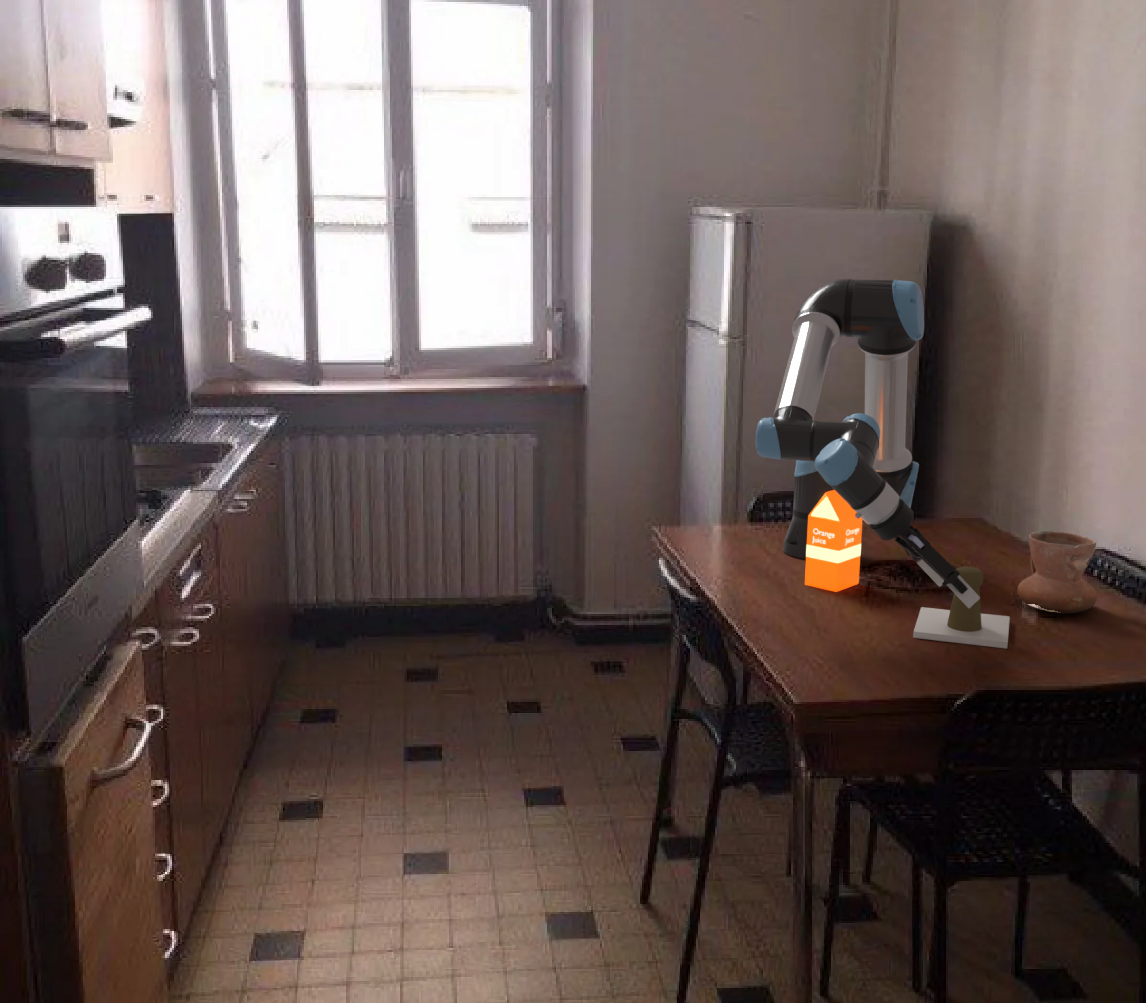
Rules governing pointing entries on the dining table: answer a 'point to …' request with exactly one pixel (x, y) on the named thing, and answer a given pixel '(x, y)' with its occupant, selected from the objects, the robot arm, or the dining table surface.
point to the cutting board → (935, 628)
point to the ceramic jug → (1059, 572)
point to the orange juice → (833, 544)
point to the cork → (959, 612)
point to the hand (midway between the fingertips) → (959, 592)
